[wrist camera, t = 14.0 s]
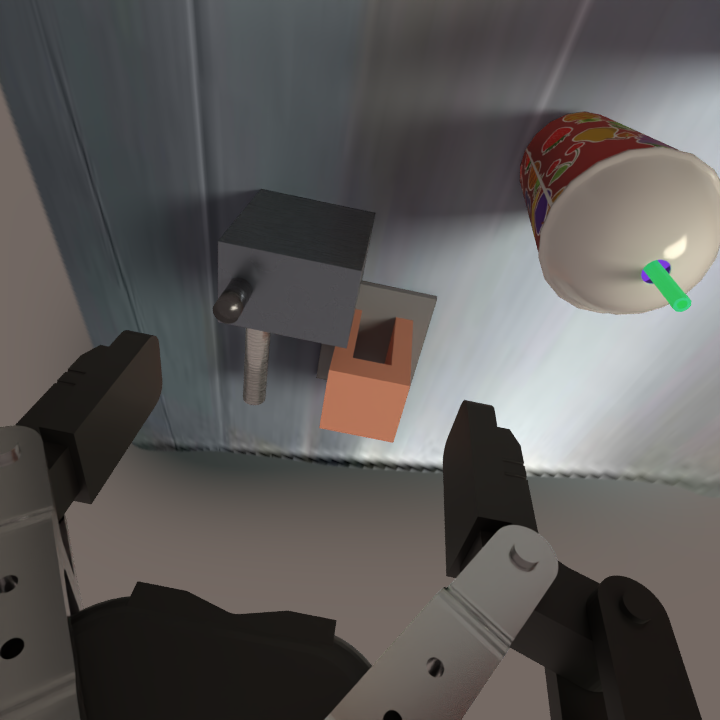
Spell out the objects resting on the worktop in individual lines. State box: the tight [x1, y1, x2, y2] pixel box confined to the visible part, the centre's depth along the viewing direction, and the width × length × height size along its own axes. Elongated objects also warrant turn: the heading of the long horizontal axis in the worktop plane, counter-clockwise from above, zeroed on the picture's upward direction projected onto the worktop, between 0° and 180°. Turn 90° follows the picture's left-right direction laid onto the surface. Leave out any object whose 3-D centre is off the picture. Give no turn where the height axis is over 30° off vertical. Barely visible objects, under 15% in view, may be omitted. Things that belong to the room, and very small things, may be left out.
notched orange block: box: [319, 309, 413, 442], centre depth 42 cm, size 6×6×9 cm
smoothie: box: [520, 112, 720, 315], centre depth 27 cm, size 8×8×20 cm
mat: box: [316, 281, 437, 389], centre depth 46 cm, size 9×11×1 cm
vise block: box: [213, 189, 375, 405], centre depth 39 cm, size 18×9×13 cm, turn 170°
